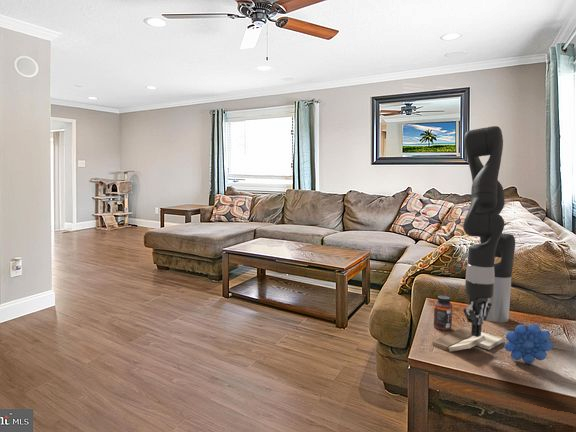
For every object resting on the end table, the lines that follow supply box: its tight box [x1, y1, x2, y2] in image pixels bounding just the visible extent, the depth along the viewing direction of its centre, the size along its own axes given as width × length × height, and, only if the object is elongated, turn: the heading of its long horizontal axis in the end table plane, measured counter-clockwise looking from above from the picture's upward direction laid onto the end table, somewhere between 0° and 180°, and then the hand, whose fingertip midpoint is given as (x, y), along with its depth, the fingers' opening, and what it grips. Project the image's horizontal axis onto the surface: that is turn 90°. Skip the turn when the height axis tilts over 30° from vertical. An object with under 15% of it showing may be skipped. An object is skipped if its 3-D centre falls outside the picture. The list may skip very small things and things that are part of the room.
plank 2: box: [468, 331, 504, 351], centre depth 118 cm, size 10×7×1 cm
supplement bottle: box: [433, 295, 454, 331], centre depth 129 cm, size 6×6×11 cm
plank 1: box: [448, 336, 486, 352], centre depth 112 cm, size 10×7×1 cm
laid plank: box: [432, 326, 473, 352], centre depth 120 cm, size 21×5×1 cm, turn 127°
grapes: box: [503, 323, 554, 365], centre depth 105 cm, size 12×7×12 cm, turn 60°
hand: (475, 335), depth 109 cm, fingers closed
